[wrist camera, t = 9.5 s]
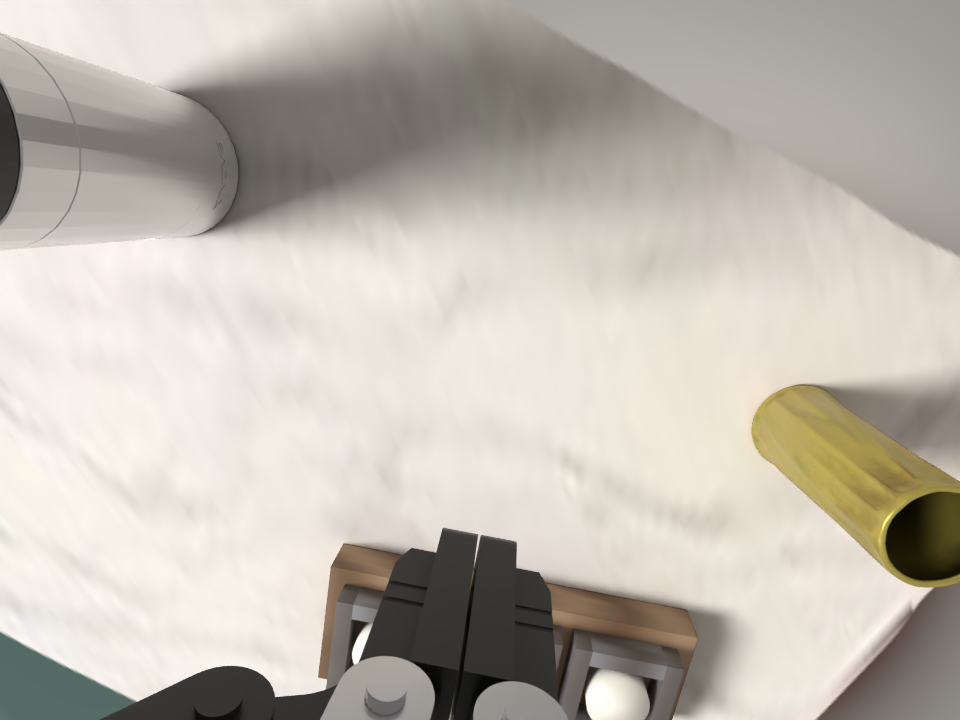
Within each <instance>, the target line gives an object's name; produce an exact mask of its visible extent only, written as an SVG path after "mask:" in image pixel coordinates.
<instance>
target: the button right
mask: <svg viewBox="0 0 960 720" xmlns="http://www.w3.org/2000/svg"><path fill="white" fill-rule="evenodd" d="M584 690H585V698H586V706H587V711H588V714H589V716H590V717H591V719H592V720H645V718H646V717H647V715H648V713H649V709H650V702H649V698H648V694H647V690H646V686H645V682H644V678H643V677H642V676H637V675H632V674H627V673H622V672H617V671H612V670H607V669H602V668H596V667H590V668H589V669H588V672H587V676H586V680H585V684H584Z"/></svg>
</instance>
